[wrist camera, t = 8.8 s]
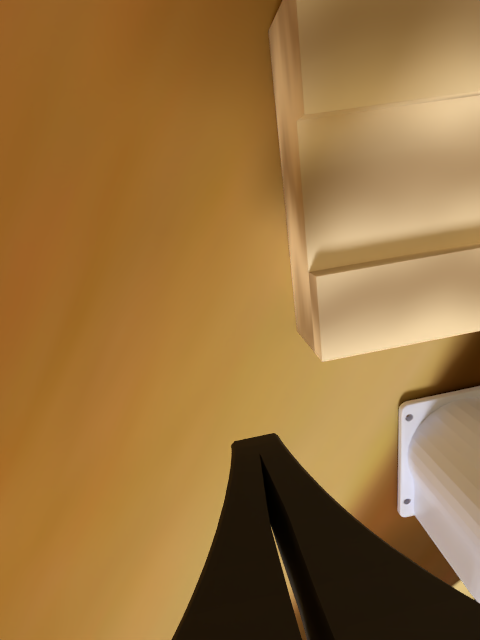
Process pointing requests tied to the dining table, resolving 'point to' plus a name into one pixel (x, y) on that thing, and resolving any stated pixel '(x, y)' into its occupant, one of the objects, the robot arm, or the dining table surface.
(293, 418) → the dining table surface
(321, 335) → the grooved board
